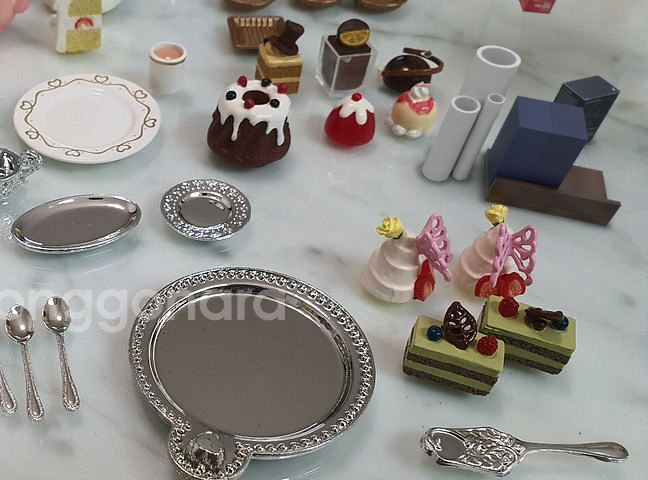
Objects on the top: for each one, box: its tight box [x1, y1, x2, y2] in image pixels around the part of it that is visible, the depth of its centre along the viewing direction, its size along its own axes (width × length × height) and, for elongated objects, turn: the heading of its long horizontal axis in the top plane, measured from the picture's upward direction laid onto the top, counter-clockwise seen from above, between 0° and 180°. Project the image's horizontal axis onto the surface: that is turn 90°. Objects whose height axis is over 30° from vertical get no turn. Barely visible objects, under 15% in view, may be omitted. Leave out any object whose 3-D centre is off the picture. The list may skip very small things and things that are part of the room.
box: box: [552, 74, 621, 143], centre depth 134 cm, size 8×6×11 cm
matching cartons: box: [488, 95, 589, 189], centre depth 123 cm, size 10×9×12 cm
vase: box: [421, 44, 522, 183], centre depth 124 cm, size 11×7×20 cm, turn 146°
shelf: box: [483, 147, 622, 227], centre depth 127 cm, size 19×13×4 cm
